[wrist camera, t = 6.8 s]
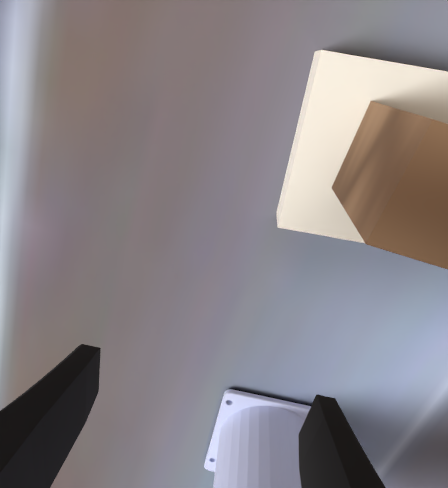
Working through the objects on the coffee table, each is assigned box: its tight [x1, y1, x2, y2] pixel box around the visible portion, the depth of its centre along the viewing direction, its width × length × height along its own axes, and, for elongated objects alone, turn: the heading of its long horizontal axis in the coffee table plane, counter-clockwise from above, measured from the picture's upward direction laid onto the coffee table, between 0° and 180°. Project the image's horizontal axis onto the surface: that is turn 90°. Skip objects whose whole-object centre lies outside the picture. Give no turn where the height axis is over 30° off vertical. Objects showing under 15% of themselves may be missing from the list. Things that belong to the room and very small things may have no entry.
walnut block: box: [332, 101, 448, 269], centre depth 13 cm, size 4×4×6 cm
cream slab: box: [277, 50, 448, 243], centre depth 17 cm, size 8×8×2 cm
